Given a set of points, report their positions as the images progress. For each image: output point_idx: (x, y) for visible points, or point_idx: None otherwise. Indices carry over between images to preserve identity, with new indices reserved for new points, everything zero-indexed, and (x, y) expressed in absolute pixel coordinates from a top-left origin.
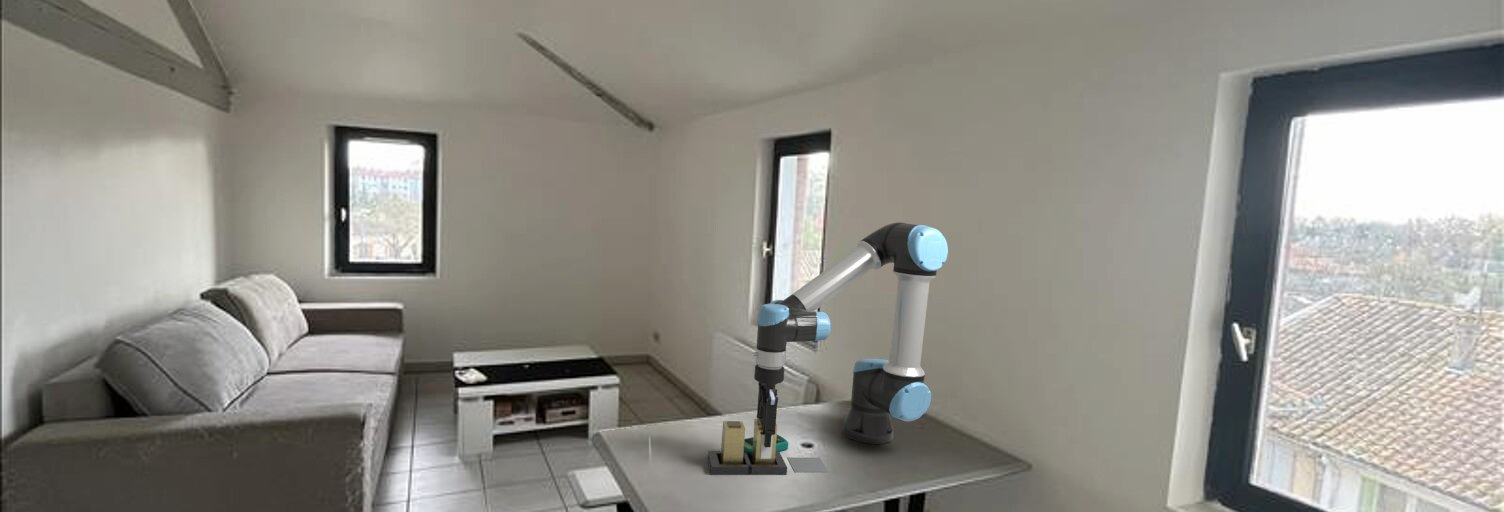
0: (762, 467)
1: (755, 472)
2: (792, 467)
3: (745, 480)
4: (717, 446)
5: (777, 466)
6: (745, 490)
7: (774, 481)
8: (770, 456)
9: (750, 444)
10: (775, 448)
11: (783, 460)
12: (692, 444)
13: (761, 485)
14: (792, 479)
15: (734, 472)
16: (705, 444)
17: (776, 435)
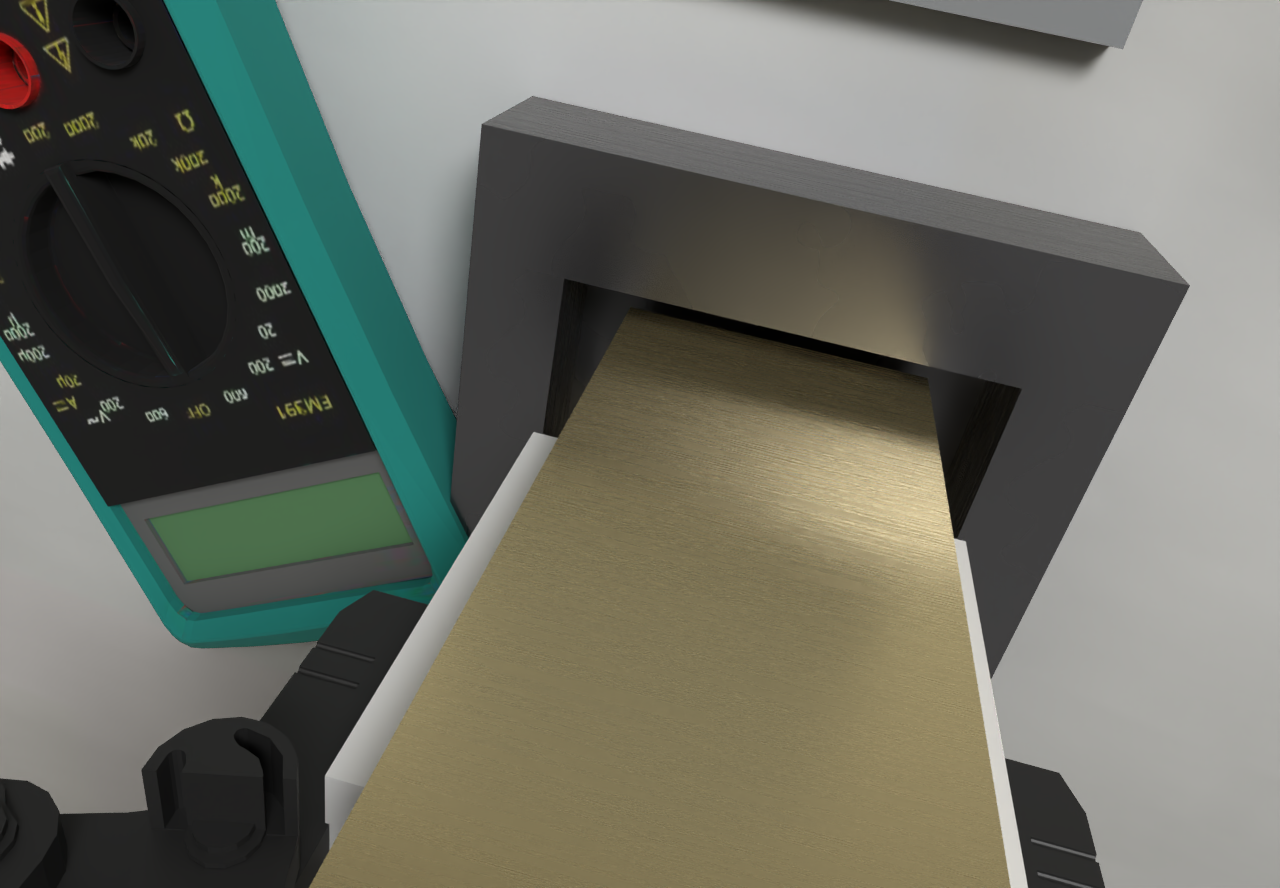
0: (1012, 631)
1: None
2: (926, 6)
3: (1010, 734)
4: (124, 632)
5: (1082, 430)
6: (1245, 829)
7: (1196, 461)
8: (967, 578)
9: (242, 476)
10: (955, 566)
11: (886, 221)
12: (110, 791)
13: (1220, 648)
14: (1274, 174)
15: None
16: (92, 705)
17: (996, 807)
